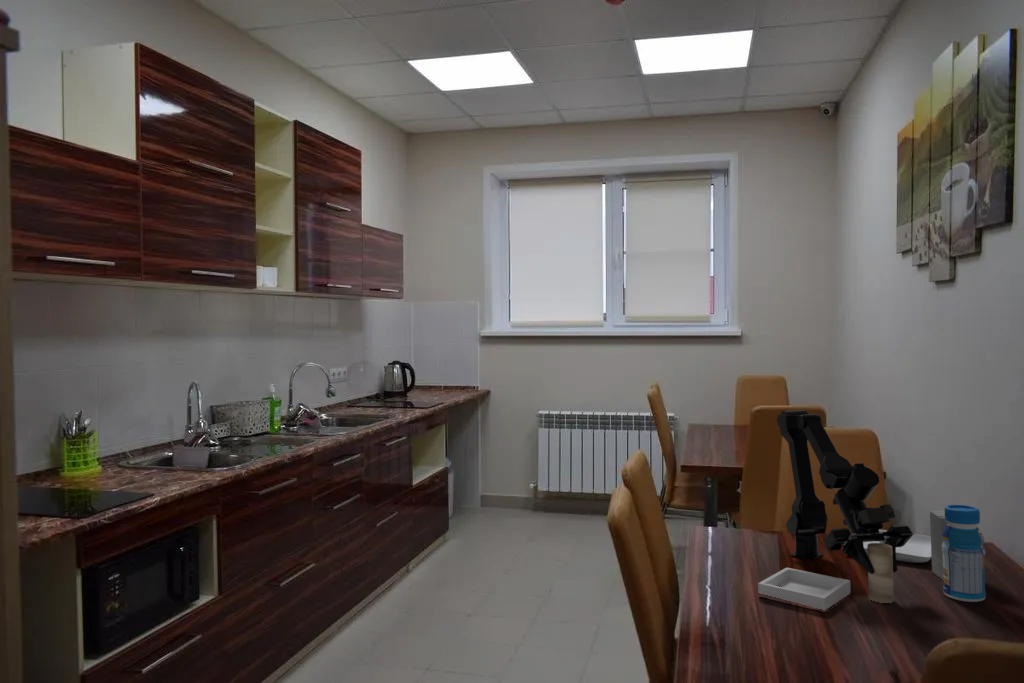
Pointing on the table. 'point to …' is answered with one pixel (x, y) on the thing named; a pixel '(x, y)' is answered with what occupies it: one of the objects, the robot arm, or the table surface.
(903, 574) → the table surface
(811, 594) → the grey bin
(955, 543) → the beverage bottle
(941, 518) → the skincare box
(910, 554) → the salad plate
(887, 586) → the birch peg
